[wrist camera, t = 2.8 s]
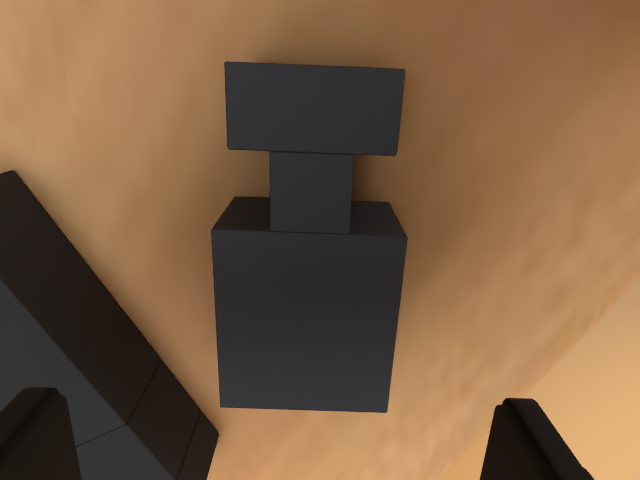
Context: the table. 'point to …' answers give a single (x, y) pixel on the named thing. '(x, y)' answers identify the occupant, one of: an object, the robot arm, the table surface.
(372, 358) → the plug pad
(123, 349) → the base pad
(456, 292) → the table surface
